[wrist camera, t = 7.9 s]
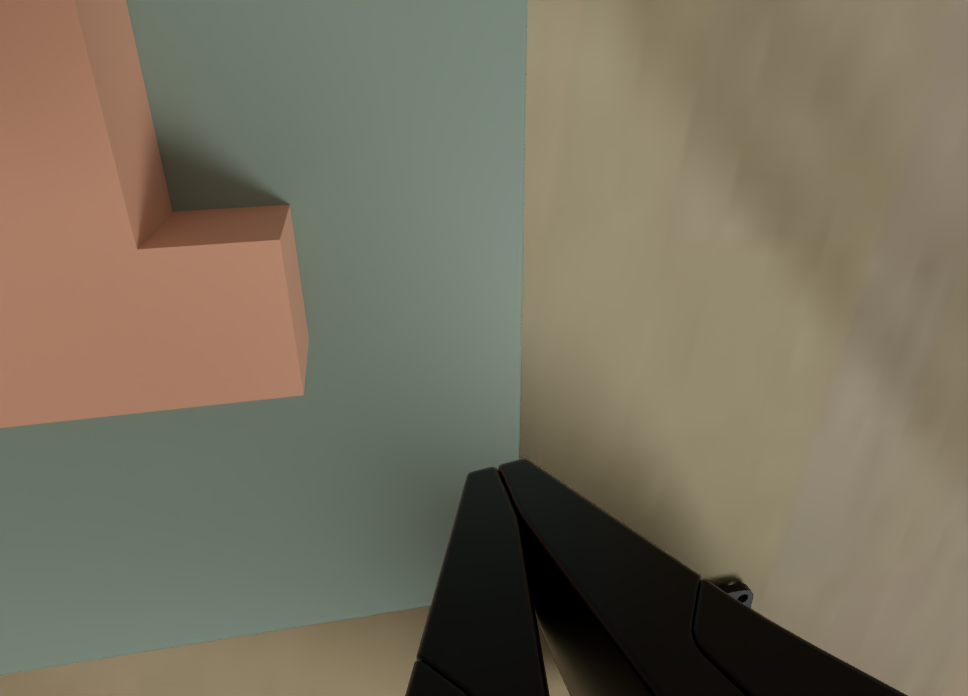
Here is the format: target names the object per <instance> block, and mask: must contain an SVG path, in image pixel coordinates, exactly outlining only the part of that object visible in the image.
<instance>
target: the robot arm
mask: <svg viewBox="0 0 968 696" xmlns="http://www.w3.org/2000/svg"><path fill="white" fill-rule="evenodd" d="M752 600H753V593H752V592H751V590H750V589H749V588H748V586H747V585H746V584H744V583H739V584H734V585H728V586H722V587H717V586H716V585H714V584H713V583H711V582H710V581H708V580H707V579H702V580H701V576H700V575H699V574H697V573H696V572H694V571H693V570H691V569H690V568H688V567H687V566H685V565H684V564H682V563H681V562H679V561H678V560H676V559H675V558H673V557H672V556H670V555H669V554H668V553H666V552H665V551H663V550H662V549H660V548H659V547H657V546H656V545H654V544H653V543H651V542H650V541H648V540H647V539H645V538H644V537H642V536H641V535H639V534H638V533H636V532H635V531H633V530H632V529H630V528H629V527H627V526H626V525H624V524H623V523H621V522H620V521H618V520H617V519H615V518H614V517H612V516H611V515H609V514H608V513H607V512H605V511H604V510H602V509H601V508H599V507H598V506H596V505H595V504H593V503H592V502H590V501H589V500H587V499H586V498H584V497H583V496H581V495H580V494H578V493H577V492H575V491H574V490H572V489H571V488H569V487H568V486H566V485H565V484H563V483H562V482H560V481H559V480H557V479H556V478H554V477H553V476H551V475H550V474H548V473H547V472H545V471H544V470H543V469H541V468H540V467H538V466H537V465H535V464H534V463H532V462H531V461H529V460H527V459H519V460H515V461H511V462H507V463H503V464H501V465H500V466H499V467H498V470H497V468H495V467H488V468H484V469H480V470H476V471H472V472H470V473H468V475H467V477H466V480H465V484H464V487H463V491H462V495H461V498H460V502H459V505H458V509H457V513H456V516H455V520H454V523H453V527H452V531H451V534H450V538H449V541H448V545H447V549H446V552H445V556H444V559H443V563H442V567H441V570H440V574H439V578H438V581H437V585H436V588H435V592H434V596H433V599H432V603H431V606H430V610H429V614H428V617H427V621H426V624H425V628H424V632H423V635H422V639H421V642H420V646H419V650H418V653H417V661H416V662H415V663H414V666H413V670H412V674H411V677H410V681H409V684H408V688H407V691H406V695H405V696H549V690H548V684H547V678H546V672H545V666H544V660H543V654H542V648H541V642H540V636H539V631H538V625H537V620H538V623H539V625H540V628H541V630H542V633H543V635H544V638H545V640H546V642H547V645H548V647H549V649H550V651H551V654H552V656H553V658H554V660H555V663H556V665H557V667H558V669H559V672H560V674H561V676H562V678H563V681H564V683H565V685H566V687H567V690H568V692H569V694H570V696H907V695H906V694H904V693H902V692H900V691H898V690H896V689H894V688H893V687H891V686H889V685H887V684H885V683H883V682H881V681H880V680H878V679H876V678H874V677H872V676H870V675H868V674H867V673H865V672H863V671H861V670H859V669H857V668H855V667H853V666H852V665H850V664H848V663H846V662H844V661H842V660H840V659H839V658H837V657H835V656H833V655H831V654H829V653H827V652H826V651H824V650H822V649H820V648H818V647H816V646H814V645H813V644H811V643H809V642H807V641H806V640H804V639H802V638H800V637H799V636H797V635H795V634H793V633H791V632H790V631H788V630H786V629H784V628H783V627H781V626H779V625H777V624H776V623H774V622H772V621H770V620H769V619H767V618H765V617H764V616H762V615H761V614H759V613H757V612H756V611H754V610H753V609H751V604H752ZM536 617H537V619H536Z"/></svg>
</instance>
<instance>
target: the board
mask: <svg viewBox="0 0 968 696" xmlns="http://www.w3.org/2000/svg"><path fill="white" fill-rule="evenodd" d="M126 2H127V7H128V11H129V16H130V20H131V25H132V29H133V34H134V39H135V43H136V48H137V52H138V57H139V61H140V66H141V70H142V75H143V79H144V84H145V88H146V93H147V98H148V102H149V107H150V111H151V116H152V120H153V125H154V129H155V134H156V138H157V143H158V147H159V152H160V157H161V161H162V166H163V170H164V175H165V179H166V184H167V188H168V193H169V197H170V202H171V207H172V211H173V212H174V211H190V210H207V209H224V208H241V207H258V206H274V205H290V209H291V216H292V223H293V230H294V237H295V244H296V251H297V258H298V265H299V272H300V279H301V286H302V293H303V300H304V307H305V314H306V321H307V328H308V335H309V344H308V355H307V366H306V376H305V387H304V395H301V396H292V397H283V398H274V399H264V400H255V401H246V402H237V403H227V404H218V405H209V406H200V407H190V408H181V409H172V410H163V411H153V412H144V413H135V414H126V415H116V416H107V417H98V418H89V419H79V420H70V421H61V422H52V423H42V424H33V425H24V426H14V427H5V428H0V675H3V674H9V673H15V672H22V671H28V670H34V669H40V668H46V667H53V666H59V665H65V664H71V663H78V662H84V661H90V660H96V659H102V658H109V657H115V656H121V655H127V654H134V653H140V652H146V651H152V650H158V649H165V648H171V647H177V646H183V645H190V644H196V643H202V642H208V641H214V640H221V639H227V638H233V637H239V636H246V635H252V634H258V633H264V632H270V631H277V630H283V629H289V628H295V627H302V626H308V625H314V624H320V623H326V622H333V621H339V620H345V619H351V618H358V617H364V616H370V615H376V614H382V613H389V612H395V611H401V610H407V609H414V608H420V607H426V606H431V603H432V599H433V596H434V592H435V588H436V585H437V581H438V578H439V574H440V570H441V567H442V563H443V559H444V556H445V552H446V549H447V545H448V541H449V538H450V534H451V531H452V527H453V523H454V520H455V516H456V513H457V509H458V505H459V502H460V498H461V495H462V491H463V487H464V484H465V480H466V477H467V475H468V473H470V472H472V471H476V470H480V469H484V468H488V467H495V468H497V470H498V467H499V466H500V465H501V464H503V463H507V462H511V461H515V460H519V442H520V385H521V329H522V272H523V216H524V159H525V103H526V46H527V0H126Z"/></svg>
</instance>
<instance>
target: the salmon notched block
mask: <svg viewBox="0 0 968 696" xmlns="http://www.w3.org/2000/svg"><path fill="white" fill-rule="evenodd" d="M308 344H309V335H308V328H307V321H306V314H305V307H304V300H303V293H302V286H301V279H300V272H299V265H298V258H297V251H296V244H295V237H294V230H293V223H292V216H291V209H290V205H274V206H258V207H241V208H224V209H207V210H190V211H174V212H173V211H172V207H171V202H170V197H169V193H168V188H167V184H166V179H165V175H164V170H163V166H162V161H161V157H160V152H159V147H158V143H157V138H156V134H155V129H154V125H153V120H152V116H151V111H150V107H149V102H148V98H147V93H146V88H145V84H144V79H143V75H142V70H141V66H140V61H139V57H138V52H137V48H136V43H135V39H134V34H133V29H132V25H131V20H130V16H129V11H128V7H127V2H126V0H0V428H5V427H14V426H24V425H33V424H42V423H52V422H61V421H70V420H79V419H89V418H98V417H107V416H116V415H126V414H135V413H144V412H153V411H163V410H172V409H181V408H190V407H200V406H209V405H218V404H227V403H237V402H246V401H255V400H264V399H274V398H283V397H292V396H301V395H304V387H305V376H306V366H307V355H308Z"/></svg>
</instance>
